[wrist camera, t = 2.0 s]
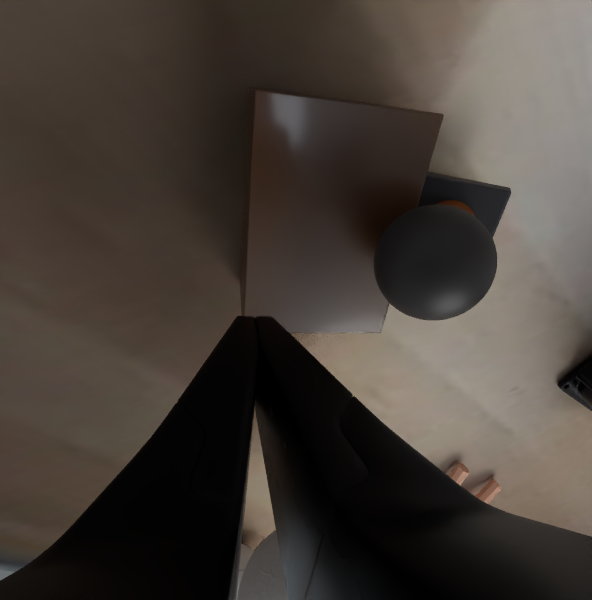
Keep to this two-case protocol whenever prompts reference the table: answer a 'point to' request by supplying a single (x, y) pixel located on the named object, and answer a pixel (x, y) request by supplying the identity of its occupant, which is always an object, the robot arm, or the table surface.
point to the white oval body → (243, 561)
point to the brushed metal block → (325, 205)
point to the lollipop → (264, 573)
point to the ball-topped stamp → (441, 248)
